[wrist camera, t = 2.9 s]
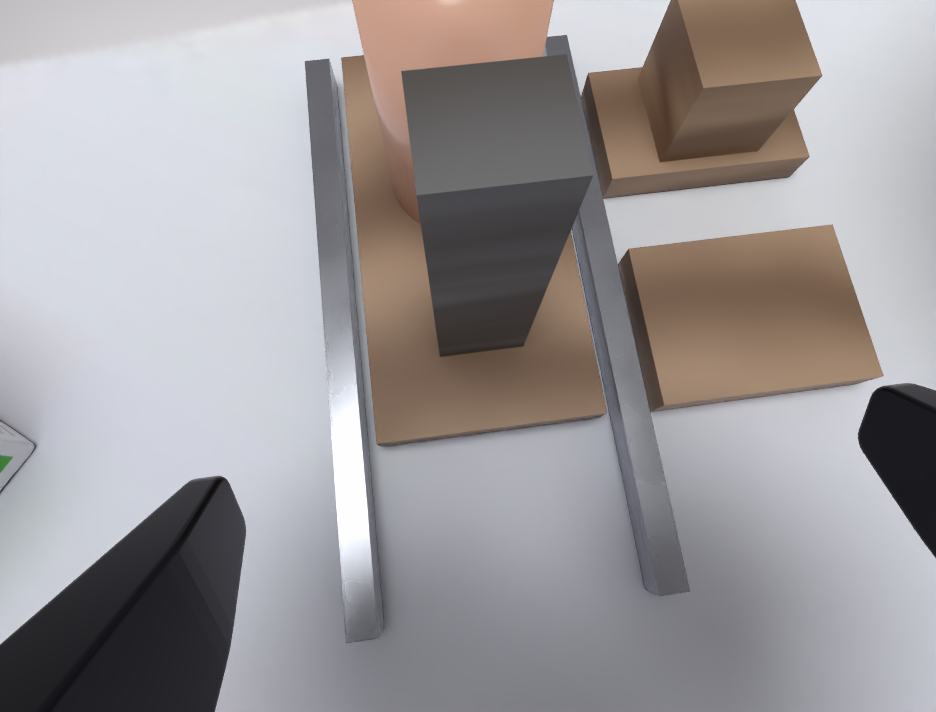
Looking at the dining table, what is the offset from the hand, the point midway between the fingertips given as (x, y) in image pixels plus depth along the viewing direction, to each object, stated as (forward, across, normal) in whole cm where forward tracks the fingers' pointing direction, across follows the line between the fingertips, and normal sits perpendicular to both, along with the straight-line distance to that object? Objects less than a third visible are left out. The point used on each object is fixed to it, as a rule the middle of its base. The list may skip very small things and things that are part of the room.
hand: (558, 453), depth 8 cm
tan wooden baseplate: (+15, 0, +2) cm, 15 cm away
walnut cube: (+17, -10, -1) cm, 20 cm away
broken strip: (+15, -10, +3) cm, 18 cm away
